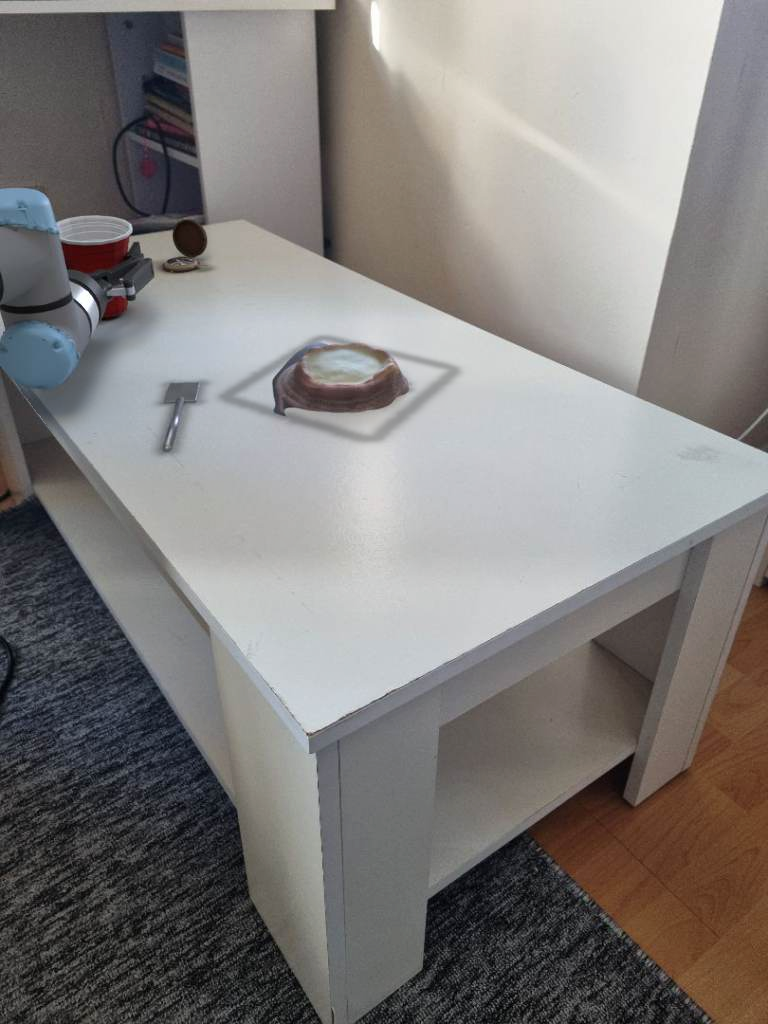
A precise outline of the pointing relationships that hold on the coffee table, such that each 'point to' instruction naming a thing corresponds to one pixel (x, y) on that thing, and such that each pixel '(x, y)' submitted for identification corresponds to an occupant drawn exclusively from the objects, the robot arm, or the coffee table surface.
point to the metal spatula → (178, 407)
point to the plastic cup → (96, 248)
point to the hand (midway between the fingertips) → (105, 252)
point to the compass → (187, 246)
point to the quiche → (338, 379)
